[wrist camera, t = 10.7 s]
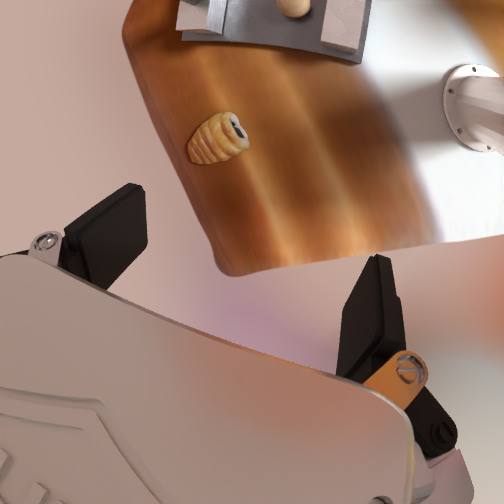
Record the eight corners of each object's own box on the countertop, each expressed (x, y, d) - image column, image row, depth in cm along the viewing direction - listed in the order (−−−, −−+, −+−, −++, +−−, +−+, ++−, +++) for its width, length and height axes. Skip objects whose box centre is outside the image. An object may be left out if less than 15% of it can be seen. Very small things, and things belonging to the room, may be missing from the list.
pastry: (205, 171, 43) (195, 180, 40) (183, 136, 41) (170, 142, 38) (255, 144, 39) (247, 150, 36) (231, 104, 36) (221, 107, 33)
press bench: (372, -11, 21) (378, -27, 16) (360, 64, 28) (365, 60, 23) (197, -26, 24) (175, -38, 19) (186, 41, 31) (162, 38, 26)
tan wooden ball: (314, -3, 23) (311, -13, 20) (309, 22, 25) (306, 15, 22) (282, -8, 23) (275, -17, 20) (277, 18, 26) (271, 11, 23)
